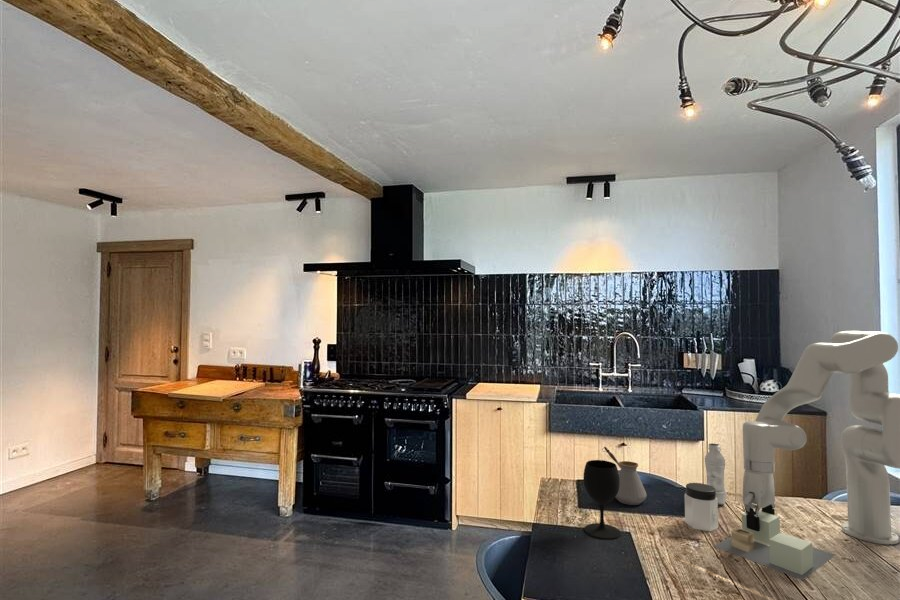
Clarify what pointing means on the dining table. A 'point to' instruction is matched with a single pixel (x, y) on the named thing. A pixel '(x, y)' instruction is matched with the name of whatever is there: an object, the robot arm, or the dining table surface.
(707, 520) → the jar
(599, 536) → the wine glass
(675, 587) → the dining table surface
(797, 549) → the cover
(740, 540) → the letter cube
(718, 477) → the plastic bottle
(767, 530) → the cover
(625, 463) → the coffee pot
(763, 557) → the slate mat
